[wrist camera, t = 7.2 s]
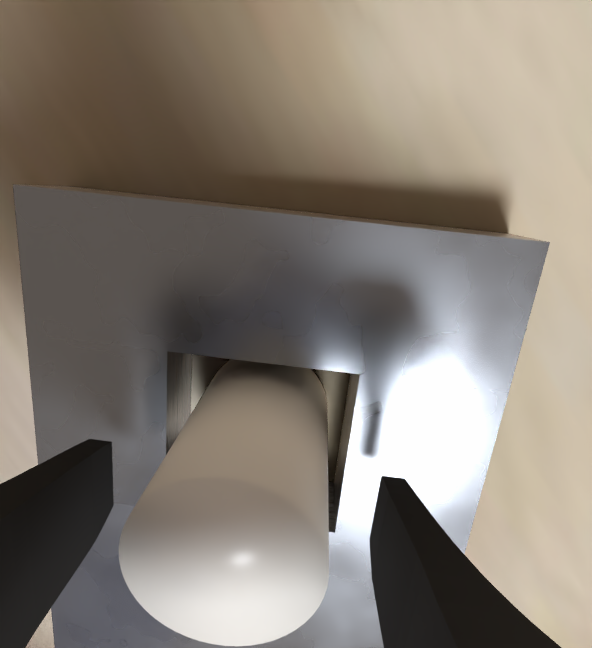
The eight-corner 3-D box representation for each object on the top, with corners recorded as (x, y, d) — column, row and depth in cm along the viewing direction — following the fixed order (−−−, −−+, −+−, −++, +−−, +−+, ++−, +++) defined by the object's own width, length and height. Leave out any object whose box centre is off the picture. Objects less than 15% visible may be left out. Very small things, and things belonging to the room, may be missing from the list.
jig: (406, 654, 19) (418, 722, 16) (90, 609, 19) (56, 669, 17) (509, 233, 13) (549, 242, 11) (67, 186, 14) (12, 184, 11)
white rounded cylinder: (316, 468, 16) (309, 662, 9) (201, 448, 16) (115, 625, 10) (337, 361, 15) (347, 498, 8) (213, 340, 15) (122, 459, 8)
